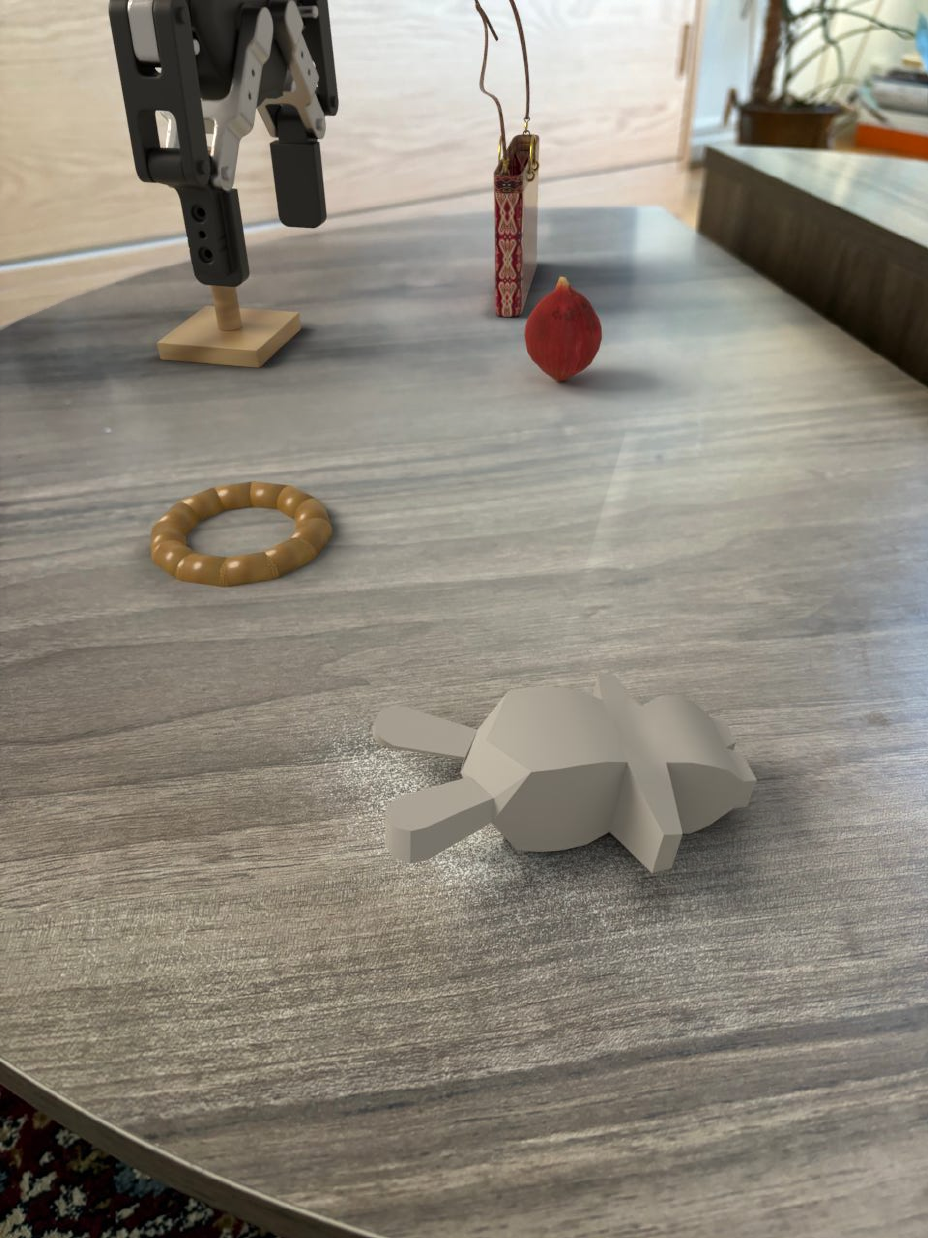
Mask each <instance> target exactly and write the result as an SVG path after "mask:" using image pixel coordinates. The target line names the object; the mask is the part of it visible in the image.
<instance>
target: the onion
mask: <svg viewBox="0 0 928 1238" xmlns="http://www.w3.org/2000/svg"><path fill="white" fill-rule="evenodd" d="M523 335H524V341H525V347H526V352H527V354H528V356H529V357H530V359H531V360H532V362H533V363H534V364H535V365H537V367H538V368H539V369H540V370H541V371H542V372H544V373H545V374H546V375H547V376H548V377H550V378H551V379H553V380H554V381H555V382H556V383H557V382H558V383H561V382H565V381H567V380H569V379H570V378H572V377H574V376H575V375H577V374H579V373H581V372H582V371H584V370H585V369H586V368H588V367H589V366H590V365H591V364H592V363H593V361H594V359H595V357H596V356H597V354H598V353H599V351H600V348H601V344H602V341H603V340H602V339H603V327H602V324H601V320H600V318H599V316H598V314H597V312H596V311H595V309H594V307H593V305H592V303H591V302H590V301H589V300H588V298H587V297H586V296H584V295H583V294H582V293H580V292H579V291H577V290H575V288H574V287H573V286H572V284H570V282H569V280H568V278H567V277H565V276H559V277H558V281H557V283H556V284H555V289H554V290H553V291H551V292H550V293H548V294H547V295H545V296H544V297H543V298H542V299H540V301H539V302H537V304H536V305H535V307H534V308H533V309H532V310H531V312H530V314H529V315H528V317H527V320H526V323H525V326H524V334H523Z"/></svg>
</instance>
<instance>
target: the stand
mask: <svg viewBox="0 0 928 1238" xmlns="http://www.w3.org/2000/svg"><path fill="white" fill-rule="evenodd" d="M207 147H208V154H209V155H211V148H212V146H211V145H207ZM210 290H211V295H212V302H213V305H205V306H204V307H203V308H201V309H200V310H198V311H197V312H196V313H194V314H193V315H191V316H190V317H189V318H187V319H186V320H185V321H184V322H182V323H181V324H179V326H177V327H175V328H174V329H173V330H172V331H170V332H168V333H167V334H166V335H165V336H163V337H162V338H161V339H159V340H158V341H157V342H156V344H157V350H158V352H159V353H158V354H159V357H160V358H159V359H160V360H162V361H163V360H164V361H175V362H185V363H186V362H189V363H198V364H210V365H221V366H222V365H223V366H231V367H233V366H234V367H244V368H245V367H246V368H254V369H255V368H257V369H260V368H262V366H263V365H264V364H265V363H266V362H267V361H268V360H270V359H271V357H273V356H274V355H275V354H276V353H277V352H278V351H279V350H280V349H282V347H283V346H284V345H285V344H287V343H288V342H289V341H290V340H291V339H292V338H293V337H294V336H295V335H296V334H297V333H298V332H300V331H301V330H302V324H301V315H300V312H299V311H287V310H286V311H285V310H274V309H273V310H271V309H259V308H258V309H257V308H247V307H246V308H244V307H240V304H239V299H238V292H237V287H225V286H212V285H210Z"/></svg>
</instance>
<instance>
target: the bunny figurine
mask: <svg viewBox="0 0 928 1238" xmlns="http://www.w3.org/2000/svg"><path fill="white" fill-rule="evenodd" d="M593 688H594V689H593V693H592V694H590V693H588V692H586V691H583V690H581V689H576V688H569V687H561V686H530V687H524V688H518V689H512V690H508V691H506V693H504V695H503V697H502V698H501V700H499V702H498V703H497V704H496V706H495V707H494V708H493V709H492V711H491V712H490V713H489V715H488V716H487V717H486V718H485V720H484V721H483V722H482V723H481V725H479V727H478V728H477V729H476V728H473V727H471V726H468V725H465V724H461V723H458V722H455V721H453V720H449V719H446V718H443V717H440V716H436V715H433V714H430V713H427V712H423V711H421V710H417V709H413V708H411V707H405V706H399V705H394V704H393V705H391V706H388V707H385V708H384V709H382V710H380V711H379V712H378V714H377V716H376V718H375V720H374V721H373V726H372V732H371V733H372V737H373V739H374V740H375V742H376V743H377V744H378V745H379V746H382V747H385V748H389V749H391V750H397V751H402V752H403V751H404V752H410V753H417V754H424V755H429V756H435V757H441V758H448V759H454V760H459V761H462V763H461V768H460V775H461V776H462V777H461V778H460V779H456V780H452V781H449V782H445V783H442V784H439V785H435V786H431V787H427V788H424V789H421V790H417V791H413V792H409V793H406V794H402V795H399V796H398V797H396V798H395V799H393V800H392V801H390V802H388V804H387V806H386V808H385V811H384V820H385V821H384V846H385V848H386V850H387V851H388V853H389V854H390V855H391V856H392V858H393V859H395V860H398V861H401V862H404V863H407V864H409V865H411V864H416V863H420V862H425V861H428V860H430V859H432V858H433V857H436V856H437V855H439V854H441V853H442V852H444V851H446V850H447V849H449V848H452V847H453V846H454V845H456V844H458V843H459V842H462V841H463V840H465V839H467V838H468V837H470V836H471V835H473V834H474V833H477V832H478V831H480V830H482V829H483V828H485V827H487V826H489V825H490V824H492V825H493V826H494V827H495V829H496V830H497V831H498V832H499V833H500V834H501V835H503V837H504V838H505V839H506V841H507V842H508V843H509V844H510V845H512V847H513V848H514V849H515V850H516V851H520V852H521V851H523V852H535V853H544V852H557V851H559V852H560V851H565V850H569V849H574V848H578V847H582V846H587V845H589V844H590V843H593V842H594V841H595V840H597V839H599V838H601V837H603V836H605V835H607V834H608V833H610V834H611V835H612V836H613V837H614V838H615V839H616V840H617V841H618V842H620V844H622V846H624V847H625V849H626V850H628V851H629V852H630V853H631V855H633V856H634V858H636V859H637V860H638V861H639V862H640V863H641V864H642V865H643V866H644V867H645V868H646V869H647V870H648V871H649V872H650V873H651V874H655V873H658V872H662V871H667V870H670V869H672V868H673V865H674V863H675V860H676V856H677V853H678V850H679V847H680V844H681V840H682V838H683V834H685V835H686V834H687V835H690V834H692V833H695V832H697V831H700V830H702V829H704V828H706V827H709V826H711V825H712V824H714V823H715V822H717V821H718V820H719V819H721V818H722V817H723V816H725V815H727V814H728V813H729V812H730V811H732V810H733V809H737V808H738V809H739V808H748V805H749V803H750V800H751V799H752V795H753V793H754V790H755V786H756V785H757V782H758V780H757V778H756V775H755V774H754V772H753V770H752V769H751V766H750V765H749V763H748V761H747V759H746V757H745V756H744V754H743V752H741V751H738V750H734V749H735V746H736V745H737V740H736V738H735V736H734V735H733V733H732V730H731V729H730V727H729V726H728V723H727V722H726V720H725V717H724V716H723V715H722V716H721V715H720V716H718V715H717V716H713V715H712V716H710V715H709V714H708V713H706V712H705V710H703V709H702V708H701V707H700V706H699V705H698V704H697V703H696V702H695V701H693V700H690V699H688V698H686V697H683V696H682V695H680V694H677V693H676V694H664V695H663V694H662V695H658V696H656V697H655V698H653V699H651V700H650V701H648V702H646V703H644V704H642V705H641V704H640V703H639V702H638V701H637V700H636V699H635V697H634V696H633V695H632V694H631V693H630V691H629V690H628V689H627V687H625V685H624V684H623V683H622V682H621V681H620V679H619V678H618V677H617V675H615V674H611V673H605V672H604V673H603V672H597V675H596V679H595V684H594V687H593Z"/></svg>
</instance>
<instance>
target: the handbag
mask: <svg viewBox="0 0 928 1238" xmlns="http://www.w3.org/2000/svg"><path fill="white" fill-rule="evenodd" d="M508 1H509V5H510V6H511V9H512V13H513V15H514V19H515V22H516V27H517V31H518V36H519V40H520V41H519V42H520V46H521V47H520V48H521V52H522V60H523V67H524V68H523V69H524V77H525V78H524V79H525V99H526V100H525V115H524V117H523V122H524V130H523V131H522V134H516V135H514V136H513V137H512V139H511V140H510V143H509V144H508V146H507V141H506V130H505V123H504V122H505V121H504V115H503V109H502V105H501V103H500V101H499V99H498V98H497V97H496V96H495V95H494V94H492V93H490V92H488V91H487V90H486V89H485V83H484V82H485V76H486V69H487V61H488V55H489V54H488V53H489V52H488V51H489V30H490V32H491V34H492V36H493V39H494V40H495V42H498V41H499V37H498V34H497V32H496V31H495V29H494V27H493V24H492V23H491V20H490V18H489V16H488V15H487V13H486V12H485V10H484V9H483V8H482V6H481V3H480V1H479V0H474V7H475V10H476V12H477V13H478V14H479V15H480V18H481V21H482V24H483V28H484V29H483V30H484V51H483V59H482V65H481V66H482V67H481V71H480V77H479V83H478V84H479V85H478V87H479V90H480V92H482V93H483V94H484V95H487V96H488V97H490V98H491V99H492V100H493V101H494V103H495V106H496V108H497V112H498V118H499V126H500V127H499V128H500V136H499V140H498V149H497V166H496V168H494V171H493V216H494V219H493V221H494V223H493V225H494V314H495V315H496V316H498V317H501V318H502V317H503V318H504V317H505V318H516V317H520V316H521V315H522V313H523V312H524V308H525V305H526V301H527V298H528V295H529V291H530V288H531V285H532V283H533V279H534V276H535V273H536V270H537V267H538V211H539V171H540V170H539V169H540V135H538V134H533V133H532V134H531V132H530V131H529V129H528V128H529V122H530V120H531V118H530V101H531V100H530V98H531V97H530V96H531V95H530V93H531V92H530V72H529V71H530V70H529V61H528V52H527V45H526V40H525V34H524V27H523V23H522V19H521V17H520V12H519V10H518V7H517V5H516V2H515V0H508ZM501 156H502V157H501Z"/></svg>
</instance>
